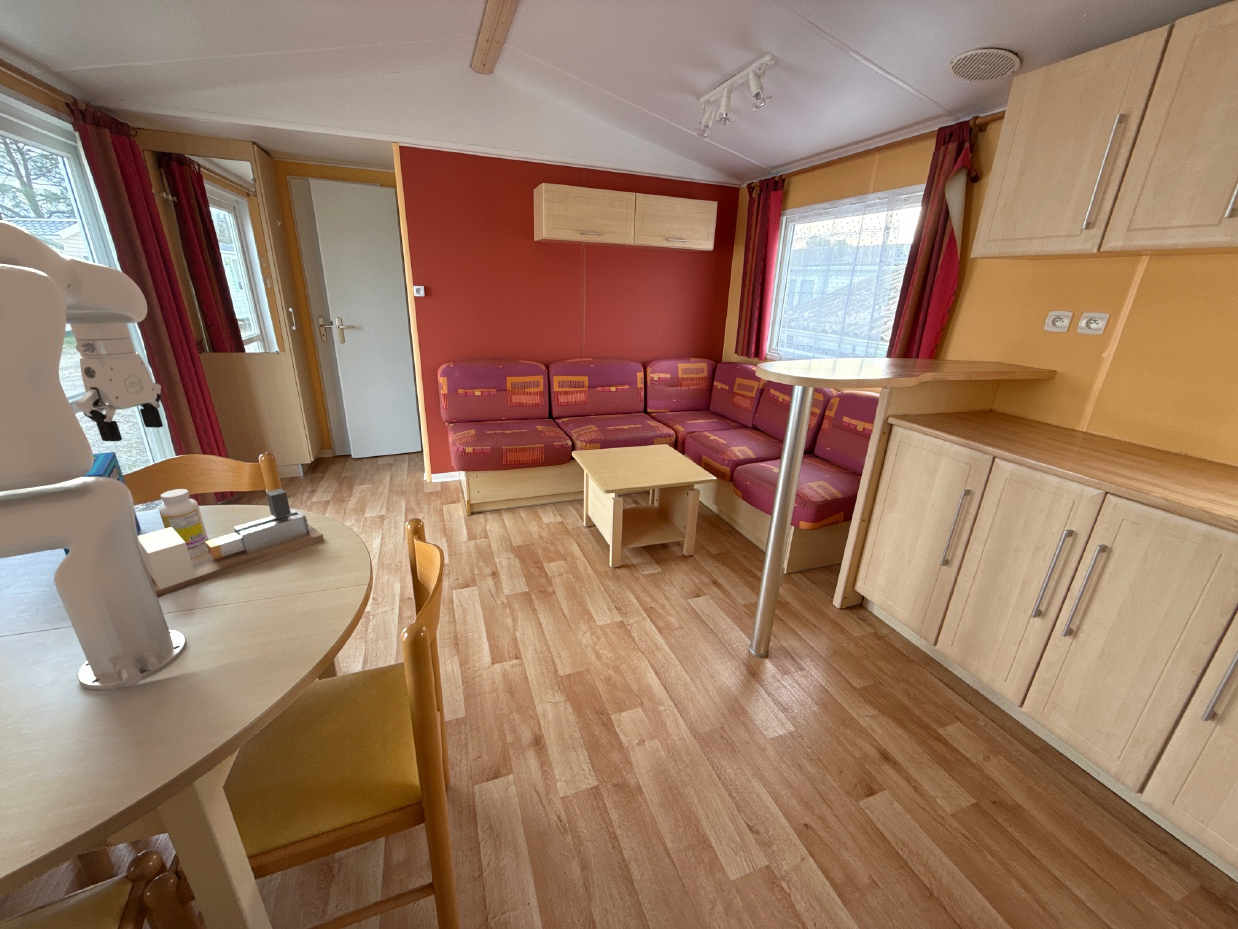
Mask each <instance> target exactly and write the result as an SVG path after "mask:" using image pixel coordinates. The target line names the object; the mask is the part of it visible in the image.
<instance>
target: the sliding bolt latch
mask: <svg viewBox="0 0 1238 929" xmlns="http://www.w3.org/2000/svg"><path fill="white" fill-rule="evenodd" d="M265 495H266V498H267V499H266V500H267V503H268V506H269V511H270V516H274V517H275V518H276V520H277V521H278V520H281V519H285V518H288V517H287V515H288V514H291V512H290V504H289V499H288V495H287V491H285V490H284V489H282V488H278V489H273V490H269V491H266V492H265ZM204 543H205V545H206V548H207V552H209V554H210V556H211V557H212V558H213V559H214V560H215V559H218V558H221V557H224V556H227V555H230V554H233V553H236V552H239V551H243V550H245V546H244V542H243V538H242V536H241V535H240V533H239V532H238V533H237V532H236V533H235V532H232V533H230V534H227V535H223V536H219V537H217V538H213V539H209V540H206V541H205V542H204Z"/></svg>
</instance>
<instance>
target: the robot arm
mask: <svg viewBox="0 0 1238 929" xmlns="http://www.w3.org/2000/svg"><path fill="white" fill-rule="evenodd" d="M147 314H148V304H147V300H146V298H145V295H144V293H143V292H142V290H141V288H140V287H139V286H138V285H137V283H135V282H134V280H133V279H132V278H131V277H130V276H128V275H127V274H126V273H124V272H123V271H121V270H119V269H117V268H113V267H110V266H106V265H103V264H99V263H95V262H93V261H91V262H90V261H87V260H83V259H80V258H76V257H72V256H69V255H65V254H59V253H58V252H56V251H55V249H53V248H51V247H50V246H48V245H47V244H46V243H45V242H44V241H42V240H40V239H39V238H38V237H37V236H35V235H34V234H33V233H31V232H30V231H28V230H27V229H25V228H23V227H21V226H19V225H16V224H15V223H12V222H8V221H6V220H0V559H7V558H12V557H18V556H24V555H29V554H37V553H40V552H47V551H55V550H62V549H63V550H64V549H69V550H70V552H69V553H68V555H67V556H66V555H65V557H64V558H62V561H61V562H60V563H59V564H58V566H57V568H56V570H55V573H54V576H53V577H54V578H53V582H54V583H53V584H54V586H55V588H56V590H57V593H58V596H59V598H60V599H61V603H62V604H63V607H64V609H65V611H66V614H67V616H68V618H69V620H70V624H71V625H72V629H73V631H74V633H75V635H76V637H77V640H78V642H79V644H80V647H81V650H82V651H83V654H84V655H85V659H86V661H85V662H84V663H83V665H82V666H81V667H80V668H79V671H78V672H77V678H78V681H79V684H80V685H81V687H83V688H85V689H88V690H92V691H107V690H113V689H114V690H115V689H117V688H124V687H126V686H135V685H137V684H138V683H139V682H141V681H143V680H146V679H148V678H151V677H152V676H154V675H156V674H159V673H160V672H162V671H164V670H165V669H166V668H168V667H170V666H171V665H172V664H173V663H174V662H176V661H177V660H178V659H179V658H180V657H181V656H182V655H183V653H184V652H185V651H186V648H187V643H188V642H187V640H186V636H185V635H184V634H183V633H182V632H181V631H177V630H172V629H169V626H168V624H167V620H166V618H165V615H164V612H163V609H162V607H161V603H160V601H159V597H157V594H156V591H155V588H154V586H153V583H152V580H151V577H150V574H149V571H148V568H147V565H146V562H145V559H144V556H143V553H142V550H141V547H140V543H139V539H138V535H137V529H136V522H135V513H136V511H135V512H134V510H135V504H134V500H133V495H132V492H131V490H130V489H129V487H127V484H126V485H125V484H123V483H122V482H120V481H118V480H116V479H112V478H108V477H82V476H83V475H85V474H87V473H88V472H89V471H90V469H91V468H92V465H93V462H94V459H93V454H94V453H93V450H92V447H91V444H90V442H89V440H88V437H87V436H86V433H85V432H84V430H83V428H82V425H81V424H80V422H79V419H78V418H77V415H76V413H75V411H74V409H73V407H72V406H71V403H70V402H69V399H68V398H67V395H66V393H65V391H64V389H63V387H62V384H61V381H60V363H61V358H62V352H63V348H64V342H65V336H66V326H67V325H70V328H71V330H72V333H73V337H74V339H75V344H76V346H75V349H76V351H77V352H79V354H80V357H79V366H80V373H81V378H82V384H83V386H84V390H85V394H84V395H82V397H80V398H79V399H78V400H77V401H76V402H75V406H76V407H77V409H79V411H81V412H82V413H83V415H84V416H85V417H87V418H89V419H90V420H91V422H93V423H95V424H96V426H97V429H98V432H99V434H100V438H101V440H102V442H121V441H122V440H123V438H122V437H123V436H122V433H121V432H120V428H119V425H118V422H117V421H116V420H113V419H114V415H115V413H116V410H120V411H121V410H126V409H129V408H134V407H139V406H140V407H141V408H140V409H139V412H140V415H141V419H142V420H143V421H142V422H143V425H144V427H146V428H156V429H157V428H163V427H164V424H163V421H162V417H161V414H160V411H159V408H161V407H160V406H161V404H160V401H161V398H162V396H161V392H162V391H161V390H162V386H161V384H159V383H155V382H154V381H153V379H152V376H151V373H150V371H149V369H148V367H147V365H146V362H145V361H144V359H143V358H142V356H141V354H140V353H139V352H136V349H135V347H134V343H133V340H132V336H131V333H130V330H129V327H128V324H137V323H140V322H142V321H144V320H145V318H146V316H147ZM104 411H105V412H104Z"/></svg>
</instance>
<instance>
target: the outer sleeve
mask: <svg viewBox="0 0 1238 929" xmlns="http://www.w3.org/2000/svg"><path fill="white" fill-rule="evenodd" d="M290 512H291V514H288V515H287V517H288V518H285V519H281V520H278V521H277V520H276V518H275V517H274V516H273V515H270V516H267V517H264V518H260V519H257V520H256V519H255V520H253V521H249V522H247V523H246V522H245V523H243V524H239V525H236V526H235V525H234V526H233V530H234V533H236V532H237V533H238V532H239V533H240V535H241V536H242V538H243V542H244V546H245V550H243V551H244V552H245V553H246V554H247V555H250V554H253V553H256V552H259V551H262V550H265V549H268V548H271V547H274V546H277V545H280V544H283V543H286V542H289V541H292V540H295V539H298V538H301V537H304V536H307V535H310V533H309V529H308V524H309V523H308V519H307V516H306V515H305V514H304V513H303V512H301V511H300V510H298V509H297V508H293V509H291V510H290Z"/></svg>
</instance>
